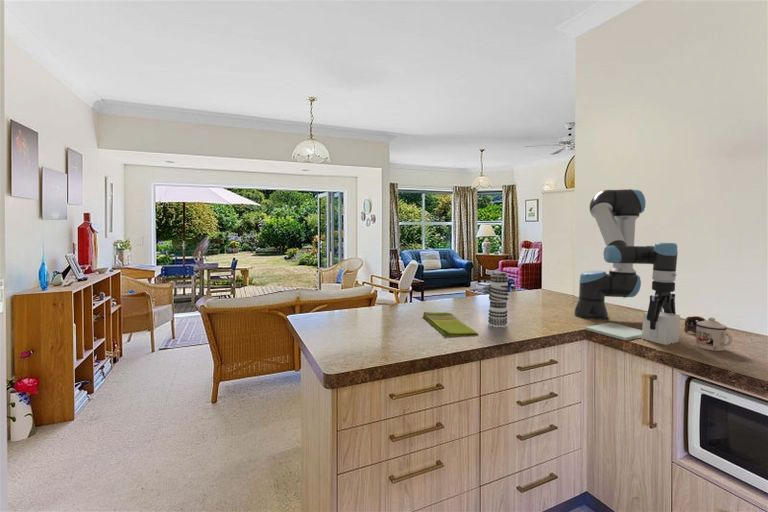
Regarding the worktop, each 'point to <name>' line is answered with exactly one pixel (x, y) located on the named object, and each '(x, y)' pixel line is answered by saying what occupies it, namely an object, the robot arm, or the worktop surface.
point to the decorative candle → (498, 299)
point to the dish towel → (448, 324)
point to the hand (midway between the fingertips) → (660, 335)
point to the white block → (663, 328)
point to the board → (616, 331)
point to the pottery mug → (692, 323)
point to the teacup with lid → (712, 335)
